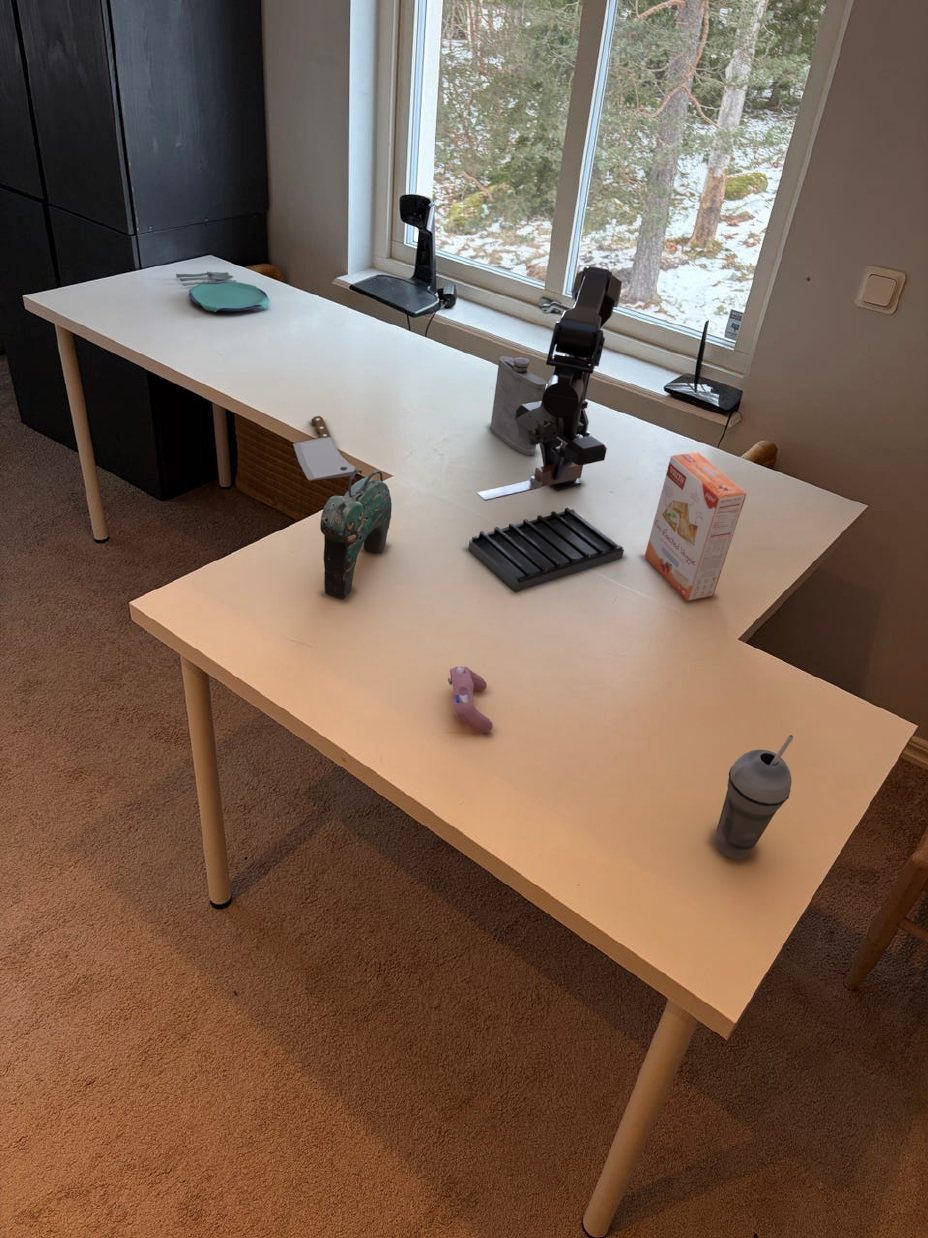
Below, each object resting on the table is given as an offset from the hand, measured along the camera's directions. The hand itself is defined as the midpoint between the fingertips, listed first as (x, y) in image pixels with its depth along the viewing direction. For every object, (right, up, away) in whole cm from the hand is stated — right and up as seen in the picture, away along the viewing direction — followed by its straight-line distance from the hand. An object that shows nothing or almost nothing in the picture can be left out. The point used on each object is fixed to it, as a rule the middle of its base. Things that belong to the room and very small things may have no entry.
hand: (551, 476), depth 167 cm
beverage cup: (+18, -54, -48) cm, 74 cm away
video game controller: (-15, -38, -33) cm, 53 cm away
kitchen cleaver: (-44, +9, +22) cm, 51 cm away
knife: (-4, -2, -2) cm, 5 cm away
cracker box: (+22, -18, -1) cm, 28 cm away
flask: (-6, +13, +34) cm, 37 cm away
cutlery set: (-79, +60, +83) cm, 129 cm away
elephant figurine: (-34, -17, -9) cm, 39 cm away
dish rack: (-1, -14, +1) cm, 14 cm away
